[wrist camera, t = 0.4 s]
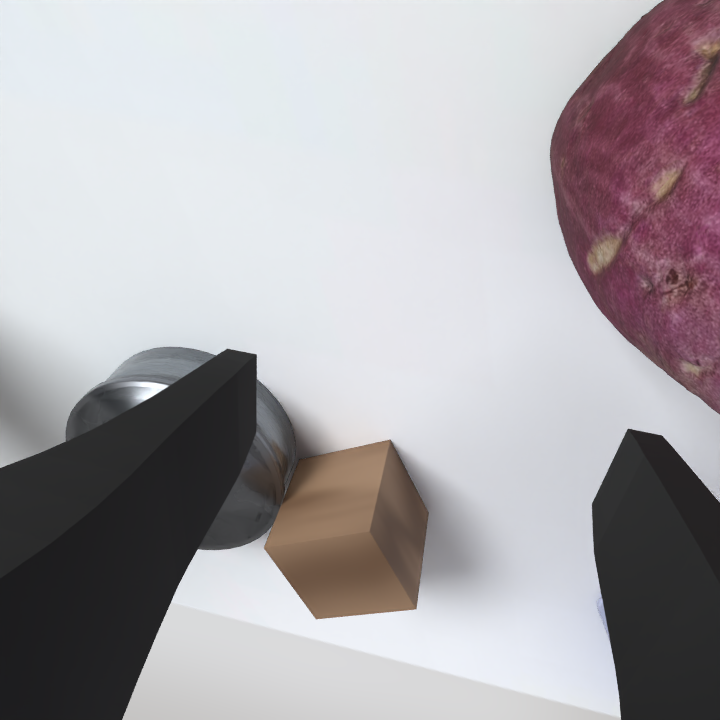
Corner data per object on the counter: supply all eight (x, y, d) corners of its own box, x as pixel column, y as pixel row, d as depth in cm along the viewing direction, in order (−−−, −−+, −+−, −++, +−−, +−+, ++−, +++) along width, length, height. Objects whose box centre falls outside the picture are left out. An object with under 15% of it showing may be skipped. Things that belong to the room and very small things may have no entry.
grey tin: (335, 482, 27) (320, 534, 25) (178, 514, 31) (150, 561, 28) (233, 313, 23) (201, 354, 21) (64, 371, 27) (21, 413, 24)
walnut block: (428, 511, 27) (416, 609, 23) (341, 525, 29) (316, 619, 25) (390, 438, 25) (369, 531, 21) (299, 458, 27) (264, 547, 23)
